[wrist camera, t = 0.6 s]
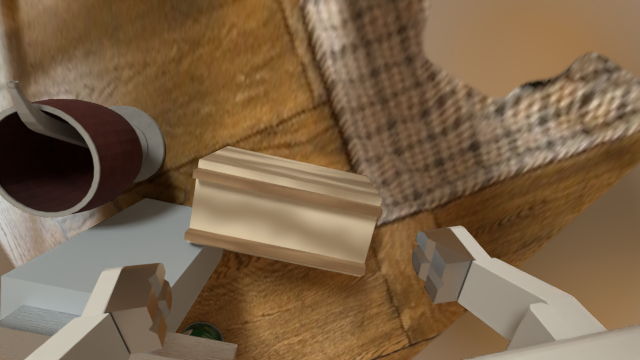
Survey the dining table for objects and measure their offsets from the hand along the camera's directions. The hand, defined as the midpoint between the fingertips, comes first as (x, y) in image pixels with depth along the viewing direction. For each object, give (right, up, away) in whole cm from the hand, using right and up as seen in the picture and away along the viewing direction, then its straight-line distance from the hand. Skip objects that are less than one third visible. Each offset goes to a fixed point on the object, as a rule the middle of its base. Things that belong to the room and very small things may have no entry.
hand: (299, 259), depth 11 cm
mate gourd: (-30, +9, +43) cm, 53 cm away
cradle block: (-4, 0, +45) cm, 45 cm away
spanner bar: (-17, -12, +21) cm, 30 cm away
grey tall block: (-22, -6, +46) cm, 51 cm away
